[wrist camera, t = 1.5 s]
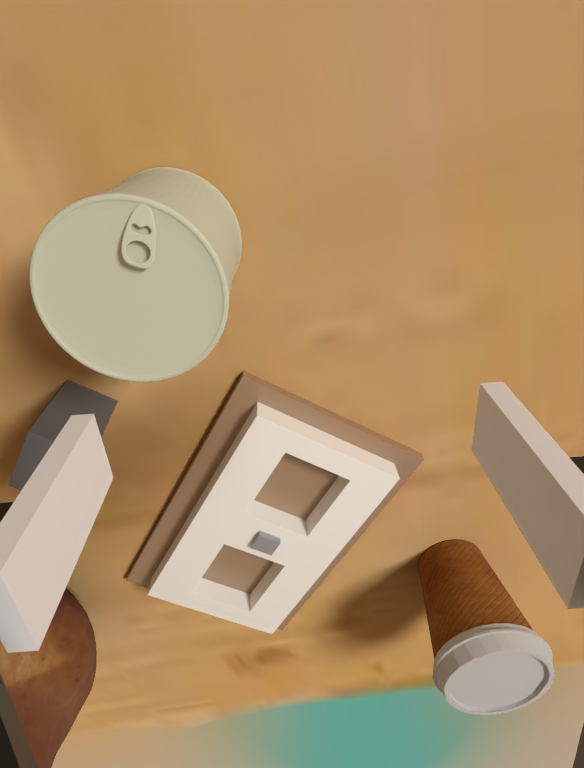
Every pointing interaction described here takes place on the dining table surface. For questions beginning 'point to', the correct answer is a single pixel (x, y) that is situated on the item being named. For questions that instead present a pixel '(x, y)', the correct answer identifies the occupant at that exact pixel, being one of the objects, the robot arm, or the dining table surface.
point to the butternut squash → (52, 679)
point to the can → (139, 275)
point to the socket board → (269, 507)
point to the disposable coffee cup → (479, 634)
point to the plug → (59, 425)
